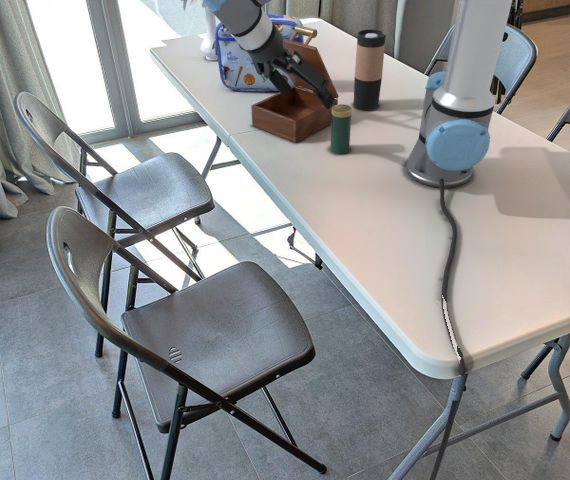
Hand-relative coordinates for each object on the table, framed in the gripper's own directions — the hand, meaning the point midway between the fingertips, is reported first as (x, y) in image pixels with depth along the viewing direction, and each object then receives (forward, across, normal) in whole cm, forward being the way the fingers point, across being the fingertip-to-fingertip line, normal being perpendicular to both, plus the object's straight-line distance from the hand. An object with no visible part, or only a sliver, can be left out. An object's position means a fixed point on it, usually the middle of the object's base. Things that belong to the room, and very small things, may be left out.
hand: (308, 97), depth 124 cm
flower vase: (+27, +75, -16) cm, 82 cm away
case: (+20, +18, -1) cm, 27 cm away
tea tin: (+19, -1, +3) cm, 19 cm away
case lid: (+11, +18, -12) cm, 24 cm away
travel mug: (+34, +11, -17) cm, 40 cm away
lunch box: (+25, +44, -10) cm, 52 cm away
